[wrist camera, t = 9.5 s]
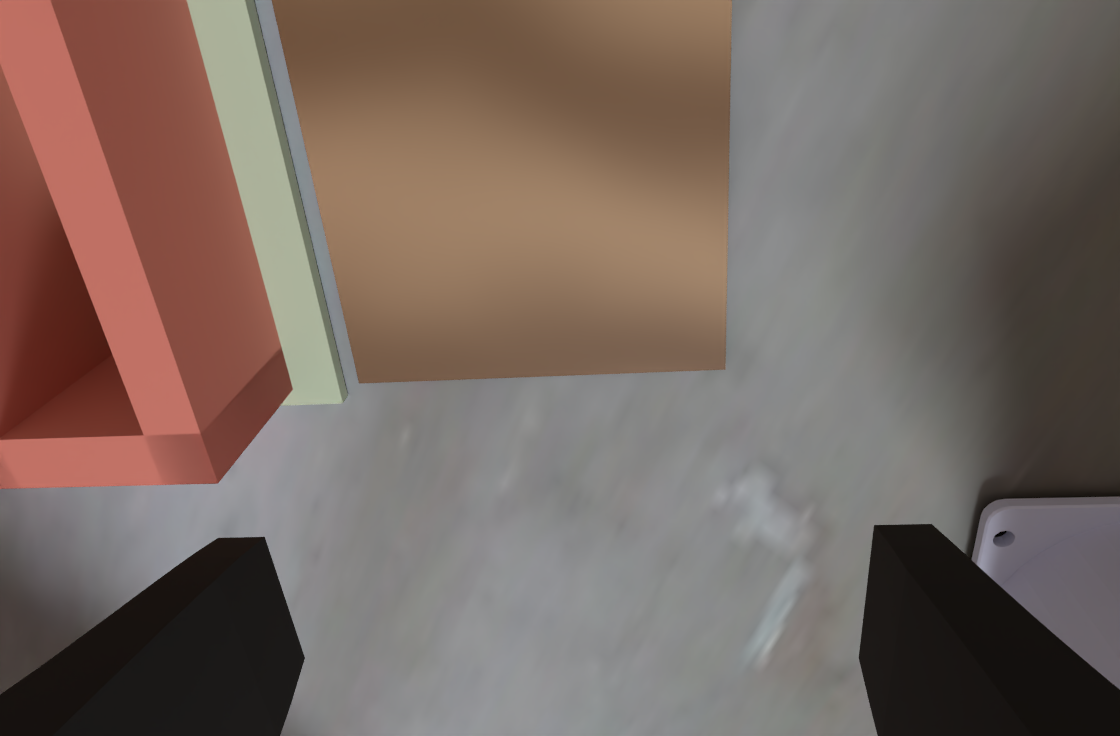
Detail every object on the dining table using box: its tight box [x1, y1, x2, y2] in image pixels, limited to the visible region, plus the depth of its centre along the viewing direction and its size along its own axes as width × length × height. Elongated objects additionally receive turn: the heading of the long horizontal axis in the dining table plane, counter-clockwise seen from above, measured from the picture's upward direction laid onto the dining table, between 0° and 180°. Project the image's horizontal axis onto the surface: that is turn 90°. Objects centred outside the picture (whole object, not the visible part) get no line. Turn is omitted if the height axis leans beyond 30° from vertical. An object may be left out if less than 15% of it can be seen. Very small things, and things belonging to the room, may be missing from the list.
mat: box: [187, 0, 348, 406], centre depth 17 cm, size 11×8×1 cm
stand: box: [272, 0, 732, 383], centre depth 13 cm, size 14×9×5 cm, turn 5°
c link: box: [0, 0, 293, 489], centre depth 15 cm, size 10×6×4 cm, turn 5°
